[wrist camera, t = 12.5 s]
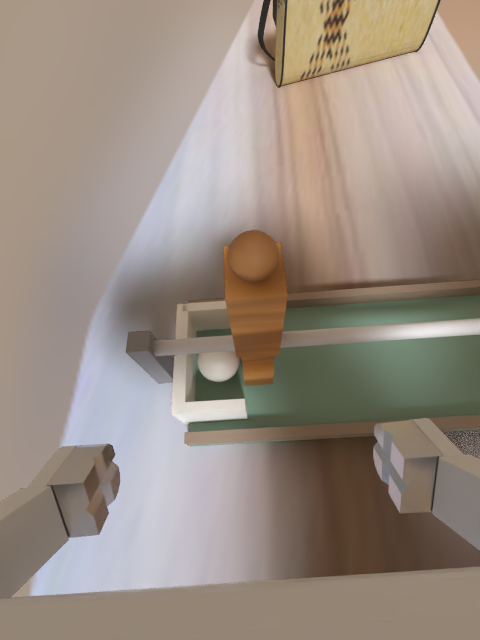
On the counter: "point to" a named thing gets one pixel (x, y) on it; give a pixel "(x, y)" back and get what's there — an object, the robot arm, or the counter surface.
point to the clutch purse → (342, 33)
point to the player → (255, 302)
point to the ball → (218, 365)
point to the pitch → (329, 365)
